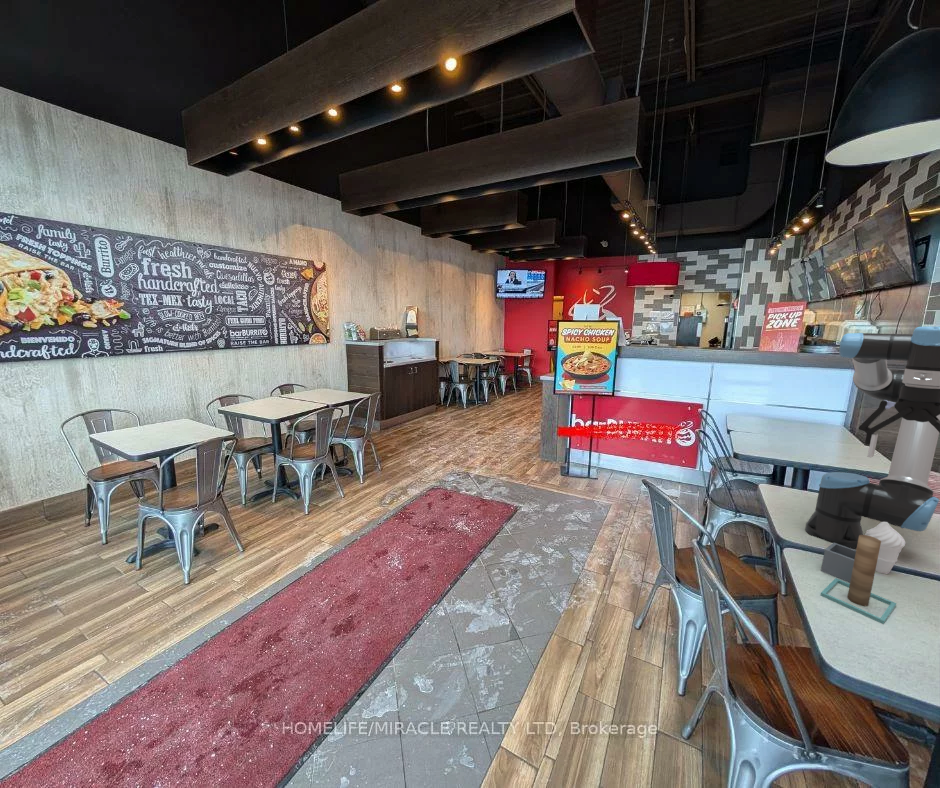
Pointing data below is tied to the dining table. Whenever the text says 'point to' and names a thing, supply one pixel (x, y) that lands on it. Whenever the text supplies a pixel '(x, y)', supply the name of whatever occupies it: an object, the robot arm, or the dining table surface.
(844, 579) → the open box
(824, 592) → the tray
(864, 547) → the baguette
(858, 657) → the dining table surface
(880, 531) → the soft serve ice cream cone
